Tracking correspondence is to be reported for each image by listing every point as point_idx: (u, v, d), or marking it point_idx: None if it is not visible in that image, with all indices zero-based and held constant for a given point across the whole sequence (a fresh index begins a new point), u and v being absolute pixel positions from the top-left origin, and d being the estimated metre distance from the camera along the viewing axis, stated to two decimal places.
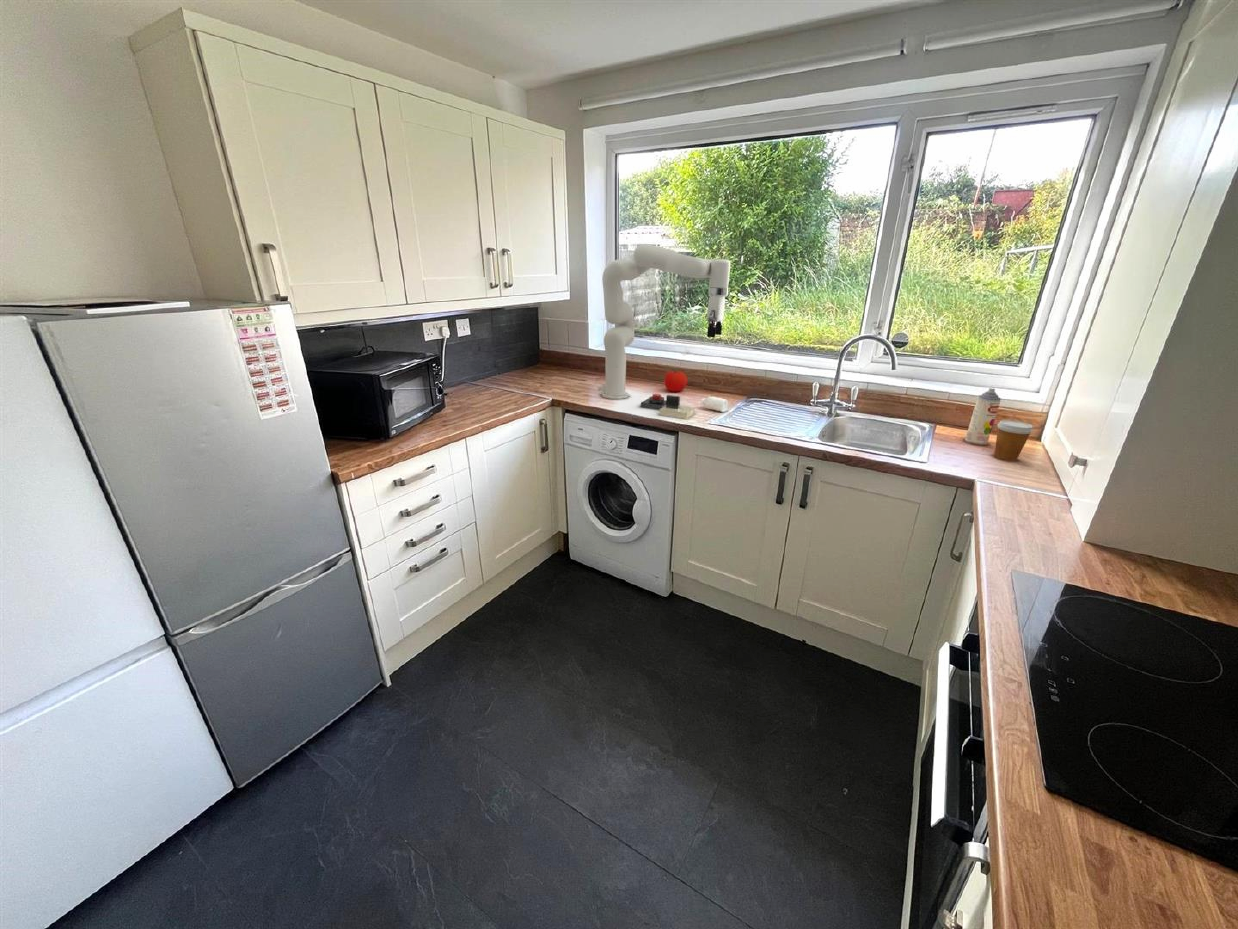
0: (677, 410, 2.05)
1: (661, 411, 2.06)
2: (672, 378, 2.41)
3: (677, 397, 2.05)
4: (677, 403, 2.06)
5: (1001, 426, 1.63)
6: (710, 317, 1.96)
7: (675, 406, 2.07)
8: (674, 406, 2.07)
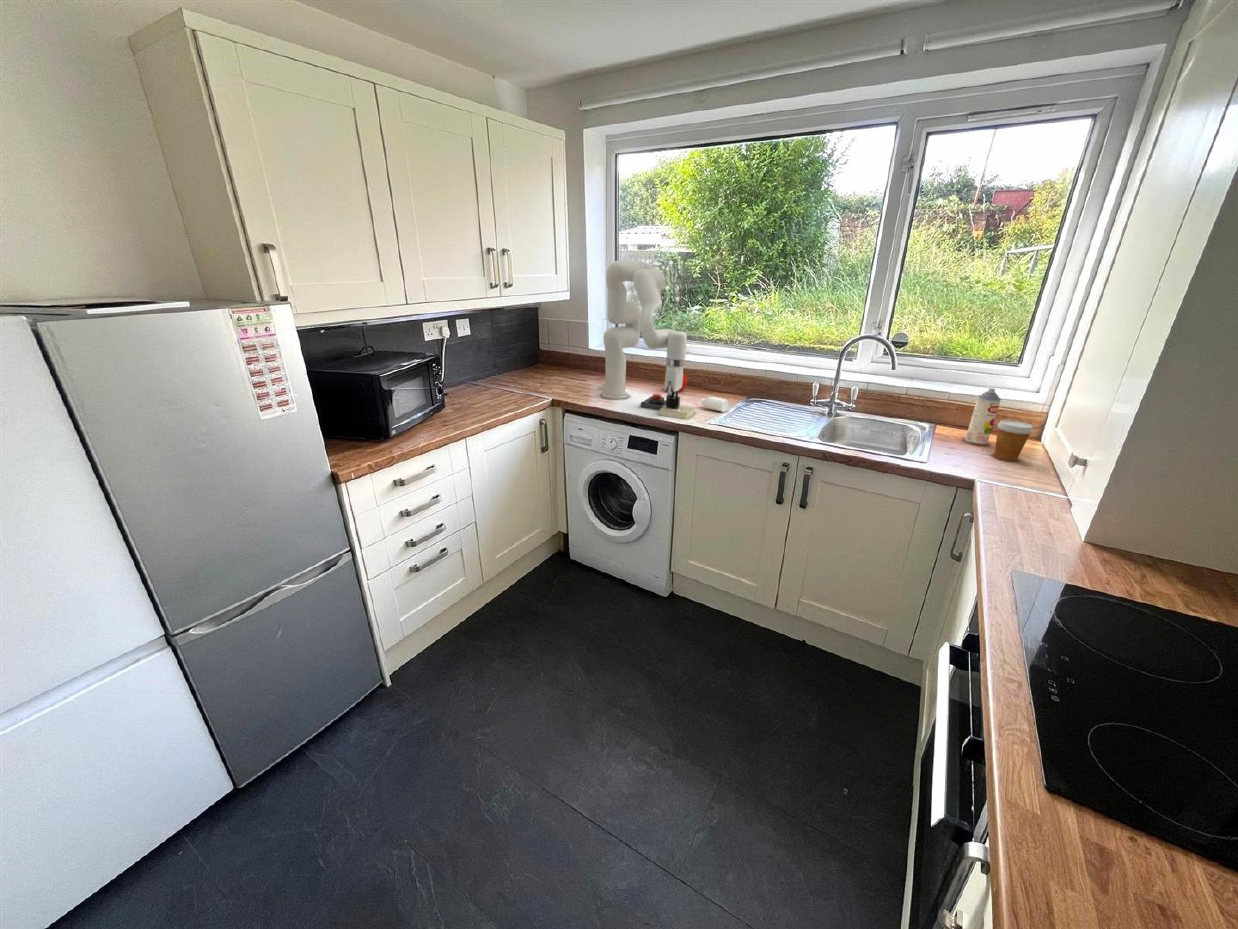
0: (677, 410, 2.05)
1: (661, 411, 2.06)
2: None
3: (677, 397, 2.05)
4: (677, 403, 2.06)
5: (1001, 426, 1.63)
6: (669, 394, 2.01)
7: None
8: None
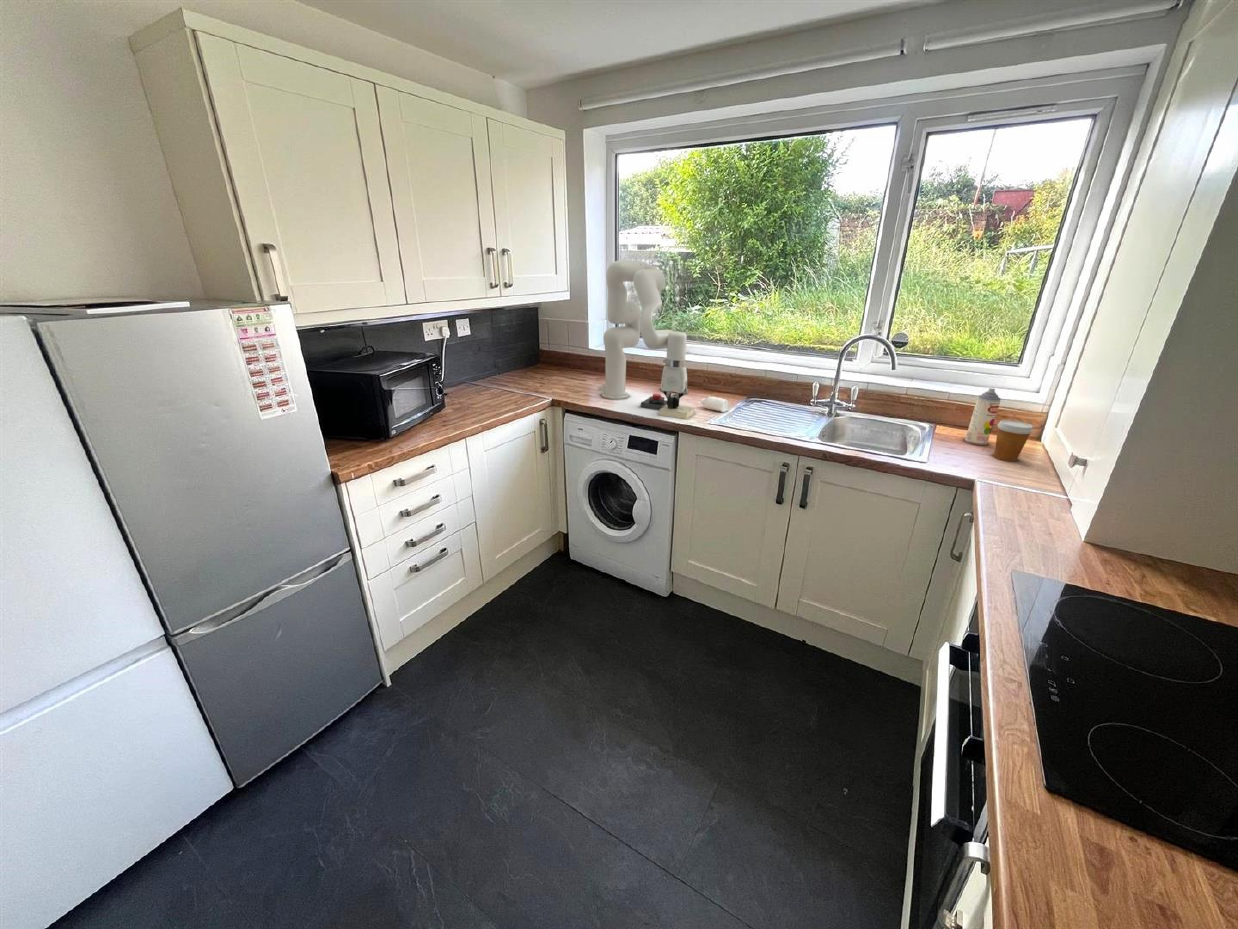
0: (677, 410, 2.05)
1: (661, 411, 2.06)
2: None
3: None
4: None
5: (1001, 426, 1.63)
6: (687, 393, 2.04)
7: None
8: None
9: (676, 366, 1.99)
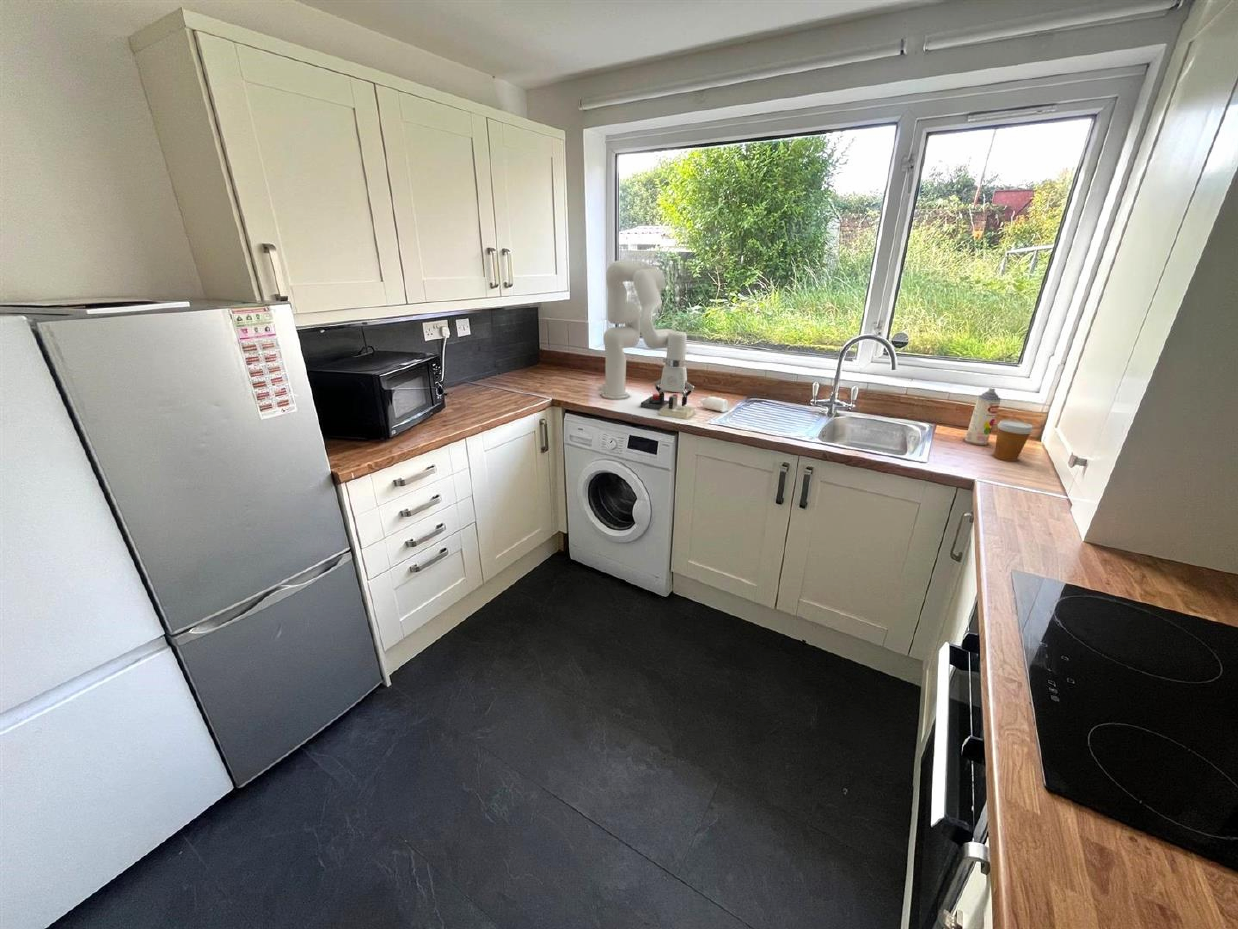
0: (677, 410, 2.05)
1: (661, 411, 2.06)
2: None
3: (677, 395, 2.08)
4: None
5: (1001, 426, 1.63)
6: (693, 387, 2.02)
7: (676, 404, 2.09)
8: (675, 405, 2.09)
9: (676, 366, 1.99)
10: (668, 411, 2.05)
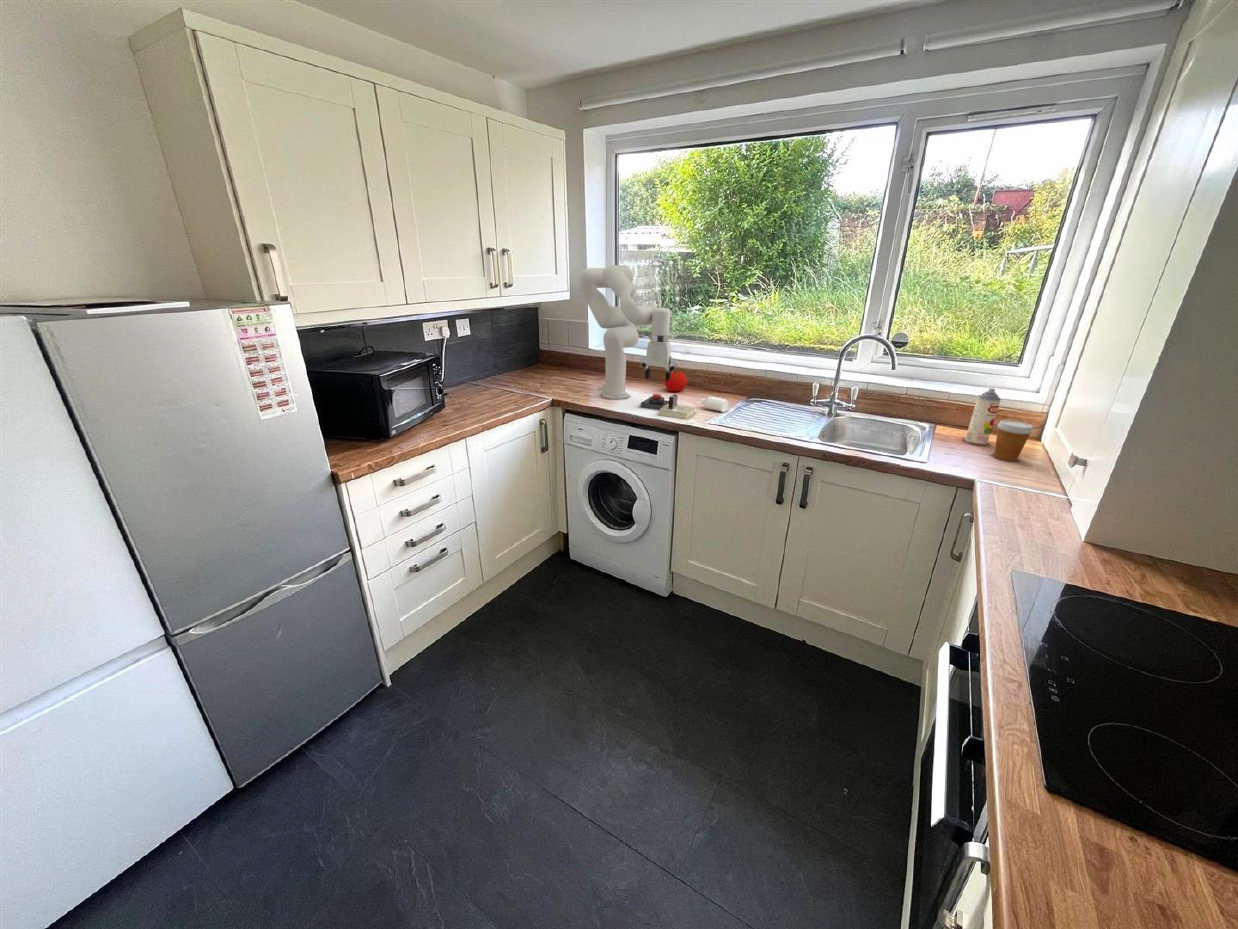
0: (677, 410, 2.05)
1: (661, 411, 2.06)
2: (672, 378, 2.41)
3: (677, 395, 2.08)
4: None
5: (1001, 426, 1.63)
6: (677, 363, 2.09)
7: (676, 404, 2.09)
8: (675, 405, 2.09)
9: (660, 341, 2.05)
10: (668, 411, 2.05)
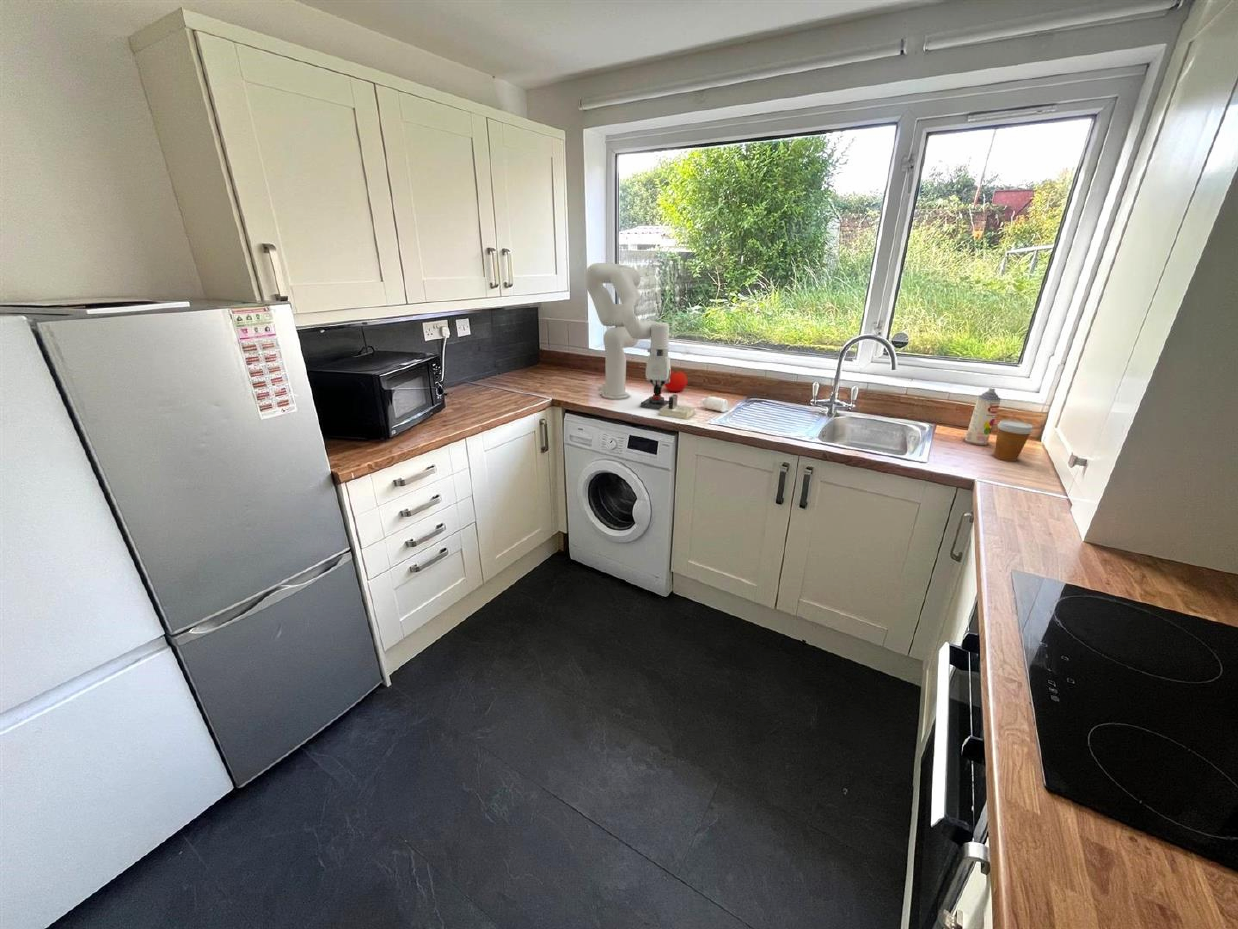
0: (677, 410, 2.05)
1: (661, 411, 2.06)
2: (672, 378, 2.41)
3: (677, 395, 2.08)
4: None
5: (1001, 426, 1.63)
6: None
7: (676, 404, 2.09)
8: (675, 405, 2.09)
9: (660, 355, 2.08)
10: (668, 411, 2.05)
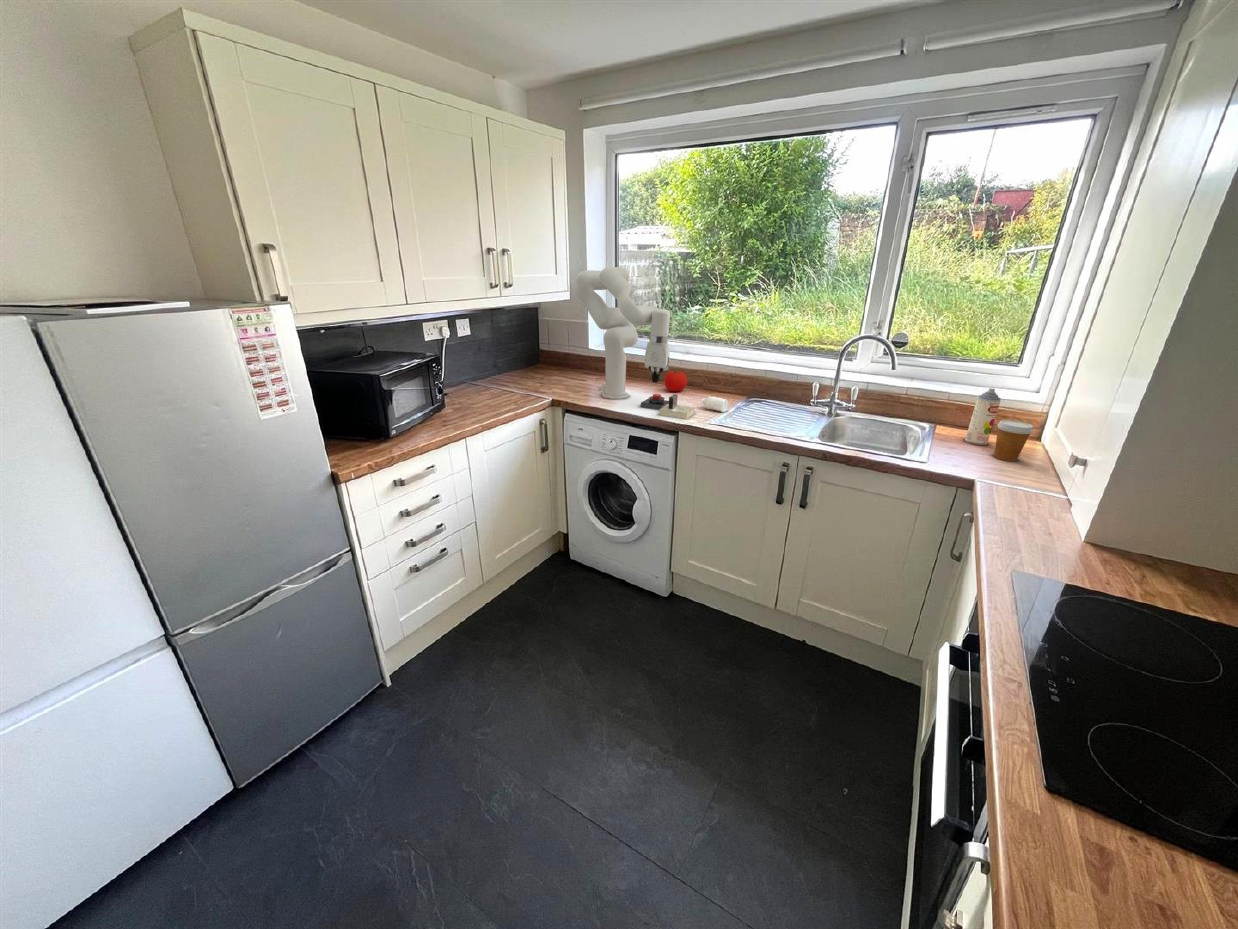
0: (677, 410, 2.05)
1: (661, 411, 2.06)
2: (672, 378, 2.41)
3: (677, 395, 2.08)
4: None
5: (1001, 426, 1.63)
6: (667, 369, 2.14)
7: (676, 404, 2.09)
8: (675, 405, 2.09)
9: (659, 342, 2.08)
10: (668, 411, 2.05)
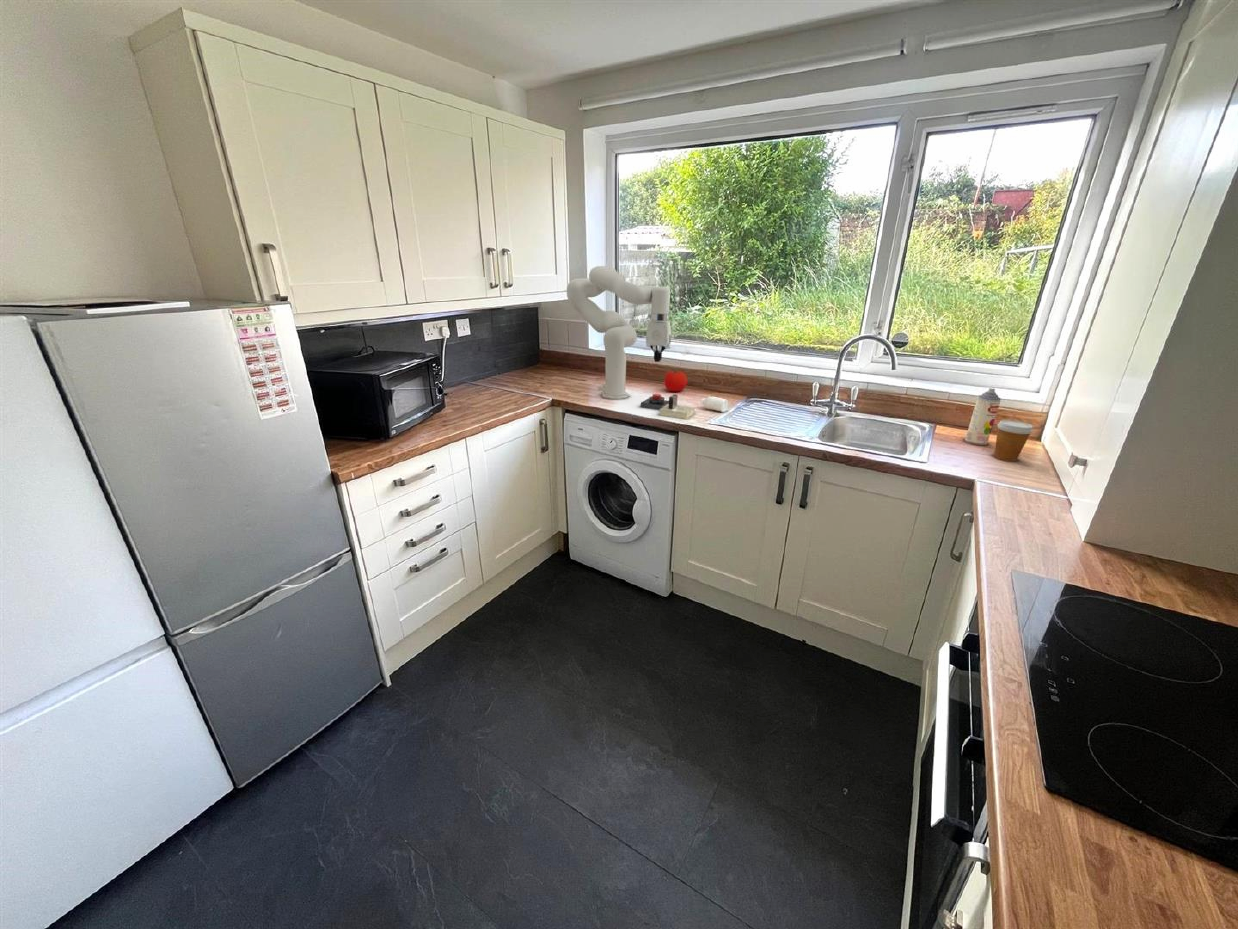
0: (677, 410, 2.05)
1: (661, 411, 2.06)
2: (672, 378, 2.41)
3: (677, 395, 2.08)
4: None
5: (1001, 426, 1.63)
6: (669, 347, 2.12)
7: (676, 404, 2.09)
8: (675, 405, 2.09)
9: (660, 319, 2.07)
10: (668, 411, 2.05)
